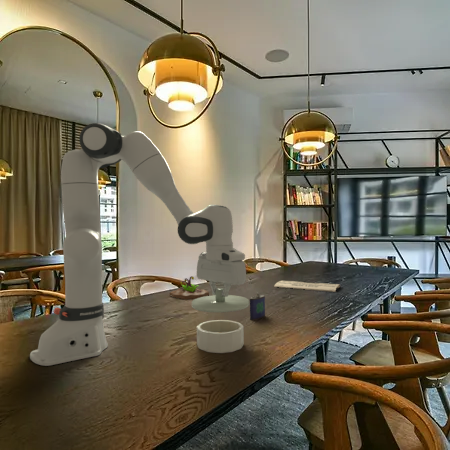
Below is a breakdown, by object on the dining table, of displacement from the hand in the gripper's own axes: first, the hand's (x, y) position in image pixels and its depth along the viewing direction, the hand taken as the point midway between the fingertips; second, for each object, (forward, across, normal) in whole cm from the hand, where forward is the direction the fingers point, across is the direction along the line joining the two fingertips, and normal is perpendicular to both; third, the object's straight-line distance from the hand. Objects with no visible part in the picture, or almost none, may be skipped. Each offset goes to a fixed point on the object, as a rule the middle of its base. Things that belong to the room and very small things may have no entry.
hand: (220, 295), depth 117 cm
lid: (+3, 0, 0) cm, 3 cm away
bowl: (+16, 0, 0) cm, 16 cm away
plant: (+17, -70, +44) cm, 84 cm away
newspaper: (+17, -35, +109) cm, 116 cm away
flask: (+17, -12, +34) cm, 40 cm away
